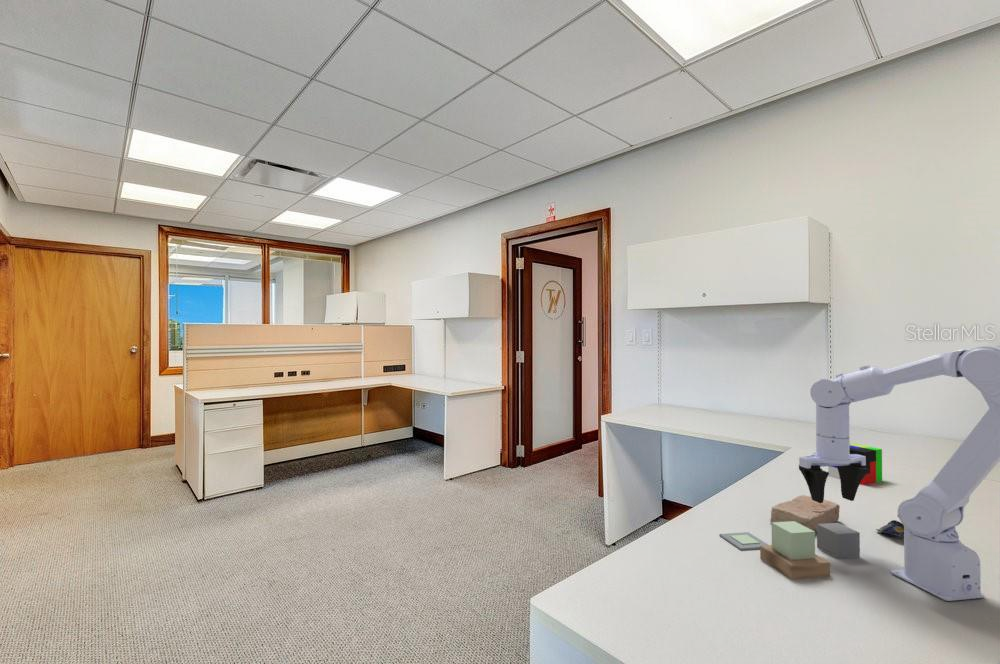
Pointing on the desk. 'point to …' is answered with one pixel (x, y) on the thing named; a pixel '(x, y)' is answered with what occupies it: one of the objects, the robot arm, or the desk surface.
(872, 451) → the puzzle toy
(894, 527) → the snack package
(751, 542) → the plaque
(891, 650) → the desk surface
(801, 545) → the sage block
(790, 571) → the light brown block
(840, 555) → the charcoal block
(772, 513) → the brick
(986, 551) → the desk surface
